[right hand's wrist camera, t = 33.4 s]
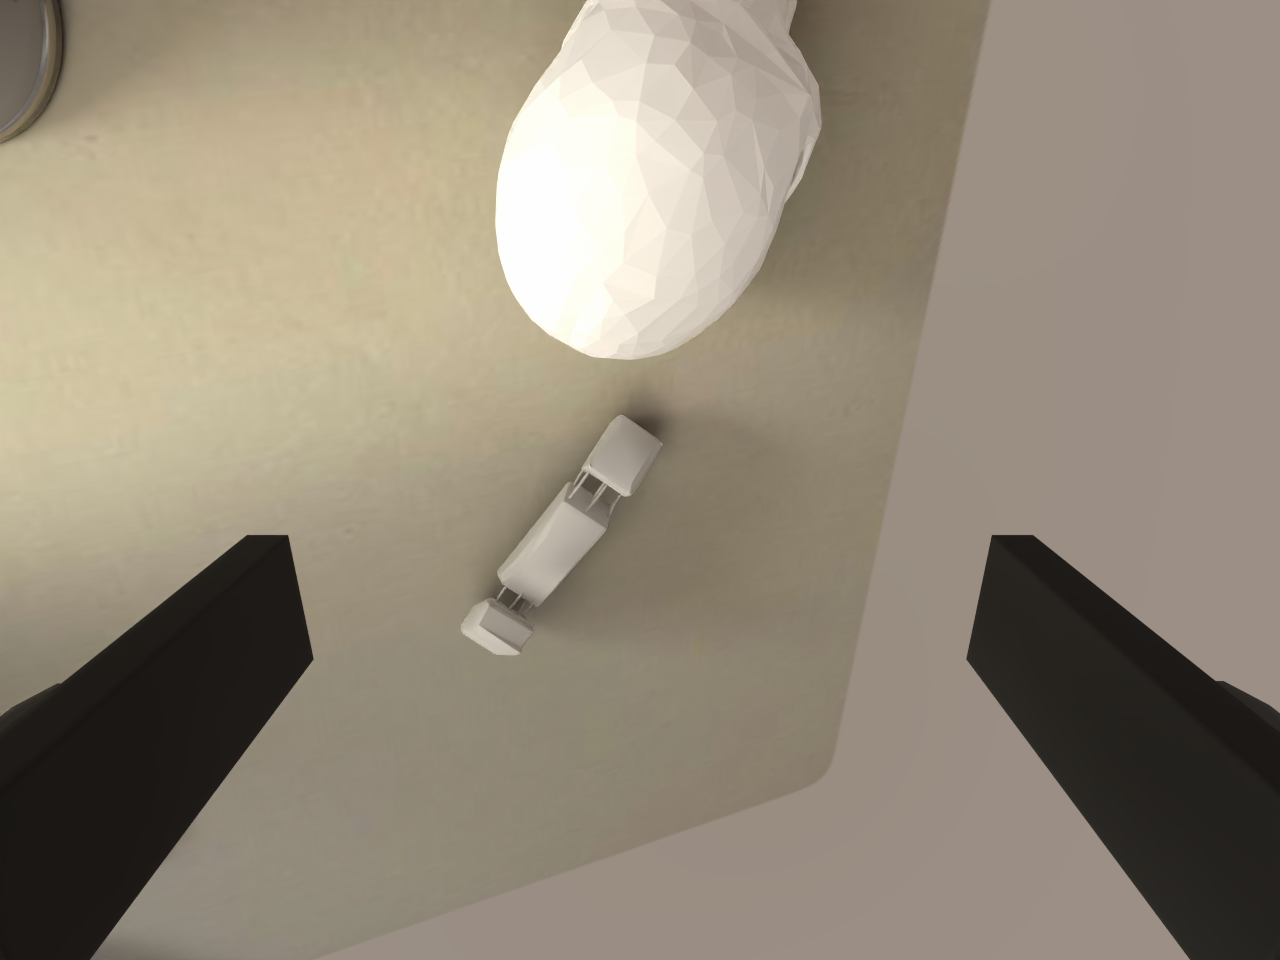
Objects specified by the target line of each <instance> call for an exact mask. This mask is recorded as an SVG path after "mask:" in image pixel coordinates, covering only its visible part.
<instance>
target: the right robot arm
mask: <svg viewBox="0 0 1280 960" xmlns="http://www.w3.org/2000/svg"><path fill="white" fill-rule="evenodd" d="M61 56H62V26H61V17H60V10H59V5H58V0H0V143H1V142H4V141H6V140H9V139H11V138H12V137H14V136H16V135H18V134H19V133H21V132H22V131H23V130H25V129H26V128H27V127H28V126H30V125H31V124H32V122H33V121H34V120H35V119H36V118H37V117H38V116H39V115H40V113H41V112H42V111H43V109H44V108H45V106H46V104H47V103H48V101H49V99H50V97H51V95H52V92H53V90H54V87H55V85H56V81H57V78H58V74H59V69H60V63H61ZM312 661H313V654H312V649H311V644H310V639H309V634H308V630H307V625H306V620H305V615H304V610H303V605H302V600H301V596H300V591H299V586H298V581H297V576H296V571H295V566H294V562H293V557H292V552H291V547H290V542H289V537H288V535H247V536H245V537H244V538H243V539H242V540H240V541H239V542H238V543H237V544H235V545H234V546H233V547H232V548H230V549H229V550H228V551H227V552H225V553H224V554H223V555H222V556H220V557H219V558H218V559H217V560H215V561H214V562H213V563H212V564H210V565H209V566H208V567H207V568H205V569H204V570H203V571H202V572H200V573H199V574H198V575H197V576H195V577H194V578H193V579H192V580H190V581H189V582H188V583H187V584H185V585H184V586H183V587H182V588H180V589H179V590H178V591H177V592H175V593H174V594H173V595H172V596H170V597H169V598H168V599H167V600H165V601H164V602H163V603H162V604H160V605H159V606H158V607H157V608H155V609H154V610H153V611H152V612H150V613H149V614H148V615H147V616H145V617H144V618H143V619H142V620H140V621H139V622H138V623H137V624H135V625H134V626H133V627H132V628H130V629H129V630H128V631H127V632H125V633H124V634H123V635H122V636H120V637H119V638H118V639H117V640H115V641H114V642H113V643H112V644H110V645H109V646H108V647H107V648H105V649H104V650H103V651H102V652H100V653H99V654H98V655H97V656H95V657H94V658H93V659H92V660H90V661H89V662H88V663H87V664H85V665H84V666H83V667H82V668H80V669H79V670H78V671H77V672H75V673H74V674H73V675H72V676H70V677H69V678H68V679H67V680H65V681H64V682H63V683H62V684H55V685H53V686H52V687H50V688H48V689H46V690H44V691H42V692H40V693H38V694H37V695H35V696H33V697H31V698H29V699H27V700H25V701H23V702H21V703H20V704H18V705H16V706H14V707H12V708H11V709H9V710H8V711H7V712H5V713H4V714H3V715H2V716H0V960H90V959H91V958H92V956H93V955H94V953H95V952H96V951H97V949H98V948H99V947H100V945H101V944H102V943H103V941H104V940H105V939H106V937H107V936H108V935H109V933H110V932H111V931H112V929H113V928H114V927H115V925H116V924H117V923H118V921H119V920H120V919H121V917H122V916H123V915H124V913H125V912H126V910H127V909H128V908H129V906H130V905H131V904H132V902H133V901H134V900H135V898H136V897H137V896H138V894H139V893H140V892H141V890H142V889H143V888H144V886H145V885H146V884H147V882H148V881H149V880H150V878H151V877H152V876H153V874H154V873H155V872H156V870H157V869H158V868H159V866H160V865H161V863H162V862H163V861H164V859H165V858H166V857H167V855H168V854H169V853H170V851H171V850H172V849H173V847H174V846H175V845H176V843H177V842H178V841H179V839H180V838H181V837H182V835H183V834H184V833H185V831H186V830H187V829H188V827H189V826H190V825H191V823H192V822H193V820H194V819H195V818H196V816H197V815H198V814H199V812H200V811H201V810H202V808H203V807H204V806H205V804H206V803H207V802H208V800H209V799H210V798H211V796H212V795H213V794H214V792H215V791H216V790H217V788H218V787H219V786H220V784H221V783H222V782H223V780H224V779H225V778H226V776H227V775H228V773H229V772H230V771H231V769H232V768H233V767H234V765H235V764H236V763H237V761H238V760H239V759H240V757H241V756H242V755H243V753H244V752H245V751H246V749H247V748H248V747H249V745H250V744H251V743H252V741H253V740H254V739H255V737H256V736H257V735H258V733H259V732H260V731H261V729H262V728H263V726H264V725H265V724H266V722H267V721H268V720H269V718H270V717H271V716H272V714H273V713H274V712H275V710H276V709H277V708H278V706H279V705H280V704H281V702H282V701H283V700H284V698H285V697H286V696H287V694H288V693H289V692H290V690H291V689H292V688H293V686H294V685H295V683H296V682H297V681H298V679H299V678H300V677H301V675H302V674H303V673H304V671H305V670H306V669H307V667H308V666H309V665H310V663H311V662H312ZM967 661H968V662H969V663H970V665H971V666H972V667H973V669H974V670H975V671H976V673H977V674H978V675H979V677H980V678H981V679H982V681H983V682H984V683H985V685H986V686H987V688H988V689H989V690H990V692H991V693H992V694H993V695H994V697H995V698H996V700H997V701H998V702H999V704H1000V705H1001V706H1002V708H1003V709H1004V710H1005V712H1006V713H1007V714H1008V716H1009V717H1010V718H1011V720H1012V721H1013V722H1014V724H1015V725H1016V726H1017V728H1018V729H1019V731H1020V732H1021V733H1022V735H1023V736H1024V737H1025V739H1026V740H1027V741H1028V743H1029V744H1030V745H1031V747H1032V748H1033V749H1034V751H1035V752H1036V753H1037V755H1038V756H1039V757H1040V759H1041V760H1042V761H1043V763H1044V764H1045V765H1046V767H1047V768H1048V769H1049V771H1050V772H1051V773H1052V775H1053V776H1054V777H1055V779H1056V780H1057V782H1058V783H1059V784H1060V786H1061V787H1062V788H1063V790H1064V791H1065V792H1066V794H1067V795H1068V796H1069V798H1070V799H1071V800H1072V802H1073V803H1074V804H1075V806H1076V807H1077V808H1078V810H1079V811H1080V812H1081V814H1082V815H1083V816H1084V818H1085V819H1086V820H1087V822H1088V823H1089V824H1090V826H1091V827H1092V829H1093V830H1094V831H1095V832H1096V834H1097V835H1098V837H1099V838H1100V839H1101V841H1102V842H1103V843H1104V845H1105V846H1106V847H1107V849H1108V850H1109V851H1110V853H1111V854H1112V855H1113V857H1114V858H1115V859H1116V861H1117V862H1118V863H1119V865H1120V866H1121V867H1122V869H1123V870H1124V871H1125V873H1126V874H1127V876H1128V877H1129V878H1130V880H1131V881H1132V882H1133V884H1134V885H1135V886H1136V888H1137V889H1138V890H1139V892H1140V893H1141V894H1142V896H1143V897H1144V898H1145V900H1146V901H1147V902H1148V904H1149V905H1150V906H1151V908H1152V909H1153V910H1154V912H1155V913H1156V914H1157V916H1158V917H1159V919H1160V920H1161V921H1162V923H1163V924H1164V925H1165V927H1166V928H1167V929H1168V931H1169V932H1170V933H1171V935H1172V936H1173V937H1174V939H1175V940H1176V941H1177V943H1178V944H1179V945H1180V947H1181V948H1182V949H1183V951H1184V952H1185V953H1186V955H1187V956H1188V958H1189V959H1190V960H1280V713H1279V712H1277V711H1276V710H1275V709H1274V708H1272V707H1271V706H1270V705H1268V704H1266V703H1264V702H1262V701H1260V700H1258V699H1257V698H1255V697H1253V696H1251V695H1249V694H1247V693H1245V692H1243V691H1241V690H1240V689H1238V688H1236V687H1234V686H1232V685H1230V684H1228V683H1226V682H1224V681H1215V680H1213V679H1212V678H1211V677H1210V676H1208V675H1207V674H1206V673H1205V672H1203V671H1202V670H1201V669H1200V668H1198V667H1197V666H1196V665H1195V664H1193V663H1192V662H1191V661H1190V660H1188V659H1187V658H1186V657H1185V656H1183V655H1182V654H1181V653H1180V652H1178V651H1177V650H1176V649H1175V648H1173V647H1172V646H1171V645H1170V644H1168V643H1167V642H1166V641H1165V640H1163V639H1162V638H1161V637H1160V636H1158V635H1157V634H1156V633H1155V632H1153V631H1152V630H1151V629H1150V628H1148V627H1147V626H1146V625H1145V624H1143V623H1142V622H1141V621H1140V620H1138V619H1137V618H1136V617H1135V616H1133V615H1132V614H1131V613H1130V612H1128V611H1127V610H1126V609H1125V608H1123V607H1122V606H1121V605H1120V604H1118V603H1117V602H1116V601H1115V600H1113V599H1112V598H1111V597H1110V596H1108V595H1107V594H1106V593H1105V592H1103V591H1102V590H1101V589H1100V588H1098V587H1097V586H1096V585H1095V584H1093V583H1092V582H1091V581H1090V580H1088V579H1087V578H1086V577H1085V576H1083V575H1082V574H1081V573H1080V572H1078V571H1077V570H1076V569H1075V568H1073V567H1072V566H1071V565H1070V564H1068V563H1067V562H1066V561H1065V560H1063V559H1062V558H1061V557H1060V556H1058V555H1057V554H1056V553H1055V552H1053V551H1052V550H1051V549H1050V548H1048V547H1047V546H1046V545H1045V544H1043V543H1042V542H1041V541H1040V540H1038V539H1037V538H1036V537H1035V536H1033V535H992V537H991V542H990V547H989V552H988V557H987V562H986V566H985V571H984V576H983V581H982V586H981V591H980V596H979V600H978V605H977V610H976V615H975V620H974V625H973V630H972V634H971V639H970V644H969V649H968V654H967Z"/></svg>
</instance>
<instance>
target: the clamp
mask: <svg viewBox="0 0 1280 960" xmlns="http://www.w3.org/2000/svg"><path fill="white" fill-rule="evenodd" d="M662 445H663V444H662V443H661V441H660V440H658V439H657V438H656V437H654V436H653V435H651V434H650V433H649V432H647V431H646V430H644V429H643V428H641V427H640V426H639V425H637V424H636V423H634V422H633V421H632V420H630V419H629V418H627V417H626V416H625V415H619V416H618V417H616V418H615V419H614V420H612V421H611V422H610V424H609V425H608V427H607V429H606V430H605V432H604V433H603V435H602V436H601V438H600V439H599V441H598V443H597V444H596V446H595V447H594V449H593V450H592V452H591V454H590V455H589V457H588V458H587V460H586V461H585V463H584V465H583V466H582V468H581V470H582V471H581V472H580V473H579V475H578V477H577V478H576V480H575V482H573V481H570V482H568V483H566V485H565V486H564V487H563V489H562V490H561V491H560V492H559V494H558V495H557V496H556V498H555V499H554V500H553V501H552V503H551V504H550V505H549V506H548V508H547V509H546V510H545V512H544V513H543V514H542V515H541V517H540V518H539V519H538V520H537V522H536V523H535V524H534V525H533V527H532V528H531V529H530V530H529V532H528V533H527V534H526V535H525V537H524V538H523V539H522V541H521V542H520V543H519V544H518V546H517V547H516V548H515V549H514V551H513V552H512V553H511V554H510V556H509V557H508V558H507V559H506V561H505V562H504V563H503V564H502V566H501V567H500V568H499V570H498V571H497V572H498V577H499V579H500V581H501V582H502V584H503V585H505V587H504V588H503V589H502V591H501V592H500V594H499V596H498V597H497V599H494V598H492V597H490V598H487V599H485V600H484V601H482V602H480V603H478V604H475V605H474V606H473V607H472V609H471V610H470V612H469V614H468V615H467V617H466V618H465V620H464V622H463V623H462V625H461V632H462V633H463V634H464V635H466V636H468V637H469V638H471V639H472V640H474V641H475V642H477V643H478V644H480V645H481V646H483V647H484V648H486V649H488V650H489V651H491V652H492V653H494V654H495V655H517V654H521V650H522V647H523V646H524V644H525V643H526V642H527V640H528V639H529V638H530V636H531V635H532V634H533V632H534V630H533V629H532V628H533V626H534V625H533V624H532V623H530V622H529V621H527V618H525V617H524V616H523V615H524V614H525V613H526V612H527V611H528V610H529V609H530V608H531V607H532V606H533V605H534V606H535V607H538V606H539V605H541V604H542V603H543V602H544V601H545V599H546V598H547V597H548V596H549V595H550V594H551V593H552V592H553V591H554V590H555V589H556V588H557V586H558V585H559V584H560V583H561V582H562V581H563V579H564V578H565V577H566V576H567V575H568V574H569V572H570V571H571V570H572V569H573V568H574V567H575V565H576V564H577V563H578V562H579V561H580V560H581V559H582V557H583V556H584V555H585V554H586V553H587V552H588V551H589V550H590V549H591V547H592V546H593V545H594V544H595V543H596V542H597V541H598V540H599V538H600V537H601V536H602V535H603V534H604V533H605V532H606V530H607V528H608V524H609V520H610V516H611V513H612V511H613V509H614V506H615V504H616V503H617V501H618V500H619V498H620V497H621V496H623V497H626V496H631V495H632V494H633V493H634V492H635V490H636V489H637V488H638V486H639V485H640V484H641V482H642V481H643V479H644V477H645V476H646V474H647V473H648V471H649V469H650V468H651V466H652V464H653V463H654V461H655V459H656V457H657V455H658V453H659V451H660V449H661V447H662ZM584 472H586V474H585V476H584V477H583V478H582V480H581V481H580V483H579V484H577V482H578V480H579V479H580V477H581V475H582V474H583V473H584ZM589 474H590V475H592V476H594V477H595V478H597V479H599V480H600V481H602V482H603V483H602V485H601V486H600V488H599V489H598V490H597V492H596V493H595V494H592V493H591V492H589V491H588V490H586V489H585V488H583V487H582V486H581V485H582V483H583V482H584V481H585V479H586V478H587V476H588V475H589ZM604 485H605V486H604ZM607 486H610V487H611V488H613V489H614V490H616V491H617V492H619V493H620V494H619V495H618V496H617V498H616V499H615V500H614V501H613V503H612V504H611V505H609V504H607V503H606V502H604V501H603V500H601V499H600V498H599V497H600V496H601V494H602V493H603V492H604V490H605V489H606V488H607ZM507 587H508V588H509V589H511V590H512V591H514V592H515V593H517V594H518V595H519V596H518V597H517V598H516V600H515V601H514V602H513V603H512V604H511V605H510V607H507V606H506V605H504V604H502V603H501V602H499V599H500V597H501V596H502V594H503V593H504V591H505V590H506V589H507ZM521 597H522V598H524V599H525V602H524V603H523V605H522V606H521V608H520V610H519V613H517V612H516V611H514V610H512V609H511V608H512V607H513V606H514V605H515V604H516V602H517V601H518V600H519V599H520V598H521ZM527 602H529V603H531V604H530V605H529V606H528V607H527V608H526V609H525V610H524V611H523V612H522V610H523V608H524V606H525V605H526V603H527ZM521 612H522V613H521Z"/></svg>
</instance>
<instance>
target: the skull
mask: <svg viewBox="0 0 1280 960" xmlns="http://www.w3.org/2000/svg"><path fill="white" fill-rule="evenodd" d="M796 4H797V0H587V1H586V2H585V4H584V6H583V7H582V9H581V11H580V12H579V14H578V16H577V17H576V19H575V21H574V23H573V25H572V26H571V28H570V30H569V32H568V34H567V35H566V37H565V39H564V41H563V45H562V49H561V51H560V52H559V54H558V55H557V56H556V58H555V59H554V60H553V62H552V63H551V64H550V66H549V67H548V68H547V70H546V71H545V72H544V74H543V75H542V77H541V78H540V79H539V81H538V82H537V83H536V85H535V86H534V88H533V90H532V91H531V93H530V95H529V96H528V98H527V100H526V101H525V103H524V105H523V107H522V108H521V110H520V112H519V114H518V115H517V117H516V119H515V121H514V122H513V125H512V127H511V130H510V132H509V135H508V138H507V142H506V146H505V150H504V154H503V158H502V162H501V165H500V169H499V175H498V183H497V197H496V225H495V227H496V235H497V243H498V251H499V256H500V259H501V263H502V266H503V269H504V273H505V276H506V280H507V282H508V284H509V286H510V288H511V290H512V292H513V294H514V296H515V298H516V299H517V300H518V302H519V303H520V305H521V306H522V307H523V309H524V310H525V311H526V313H527V314H528V316H529V317H530V318H531V319H532V320H533V321H534V322H535V323H536V324H537V325H539V326H540V327H541V328H542V329H543V330H545V331H546V332H547V333H548V334H549V335H551V336H552V337H554V338H556V339H558V340H560V341H561V342H563V343H565V344H567V345H569V346H571V347H572V348H574V349H576V350H578V351H580V352H582V353H584V354H587V355H589V356H592V357H600V358H613V359H627V360H635V359H641V358H646V357H652V356H658V355H661V354H663V353H665V352H668V351H670V350H673V349H675V348H677V347H679V346H681V345H682V344H684V343H685V342H687V341H689V340H690V339H692V338H694V337H695V336H697V335H698V334H700V333H701V332H702V331H703V330H704V329H706V328H707V327H708V326H709V325H710V324H712V323H713V322H715V321H716V320H718V319H719V318H720V317H721V316H722V315H723V314H724V313H725V312H726V311H727V310H728V309H729V308H730V307H731V306H732V305H733V304H734V303H735V301H736V300H737V299H738V297H739V296H740V295H741V294H742V292H743V291H744V290H745V289H746V287H747V286H748V285H749V283H750V282H751V281H752V279H753V278H754V277H755V275H756V274H757V272H758V271H759V269H760V268H761V267H762V264H763V262H764V259H765V257H766V254H767V252H768V249H769V247H770V245H771V242H772V240H773V237H774V235H775V233H776V230H777V227H778V224H779V221H780V217H781V214H782V211H783V208H784V204H785V202H786V201H787V200H788V198H789V197H790V196H791V194H792V193H793V192H794V190H795V189H796V187H797V185H798V184H799V182H800V180H801V179H802V176H803V174H804V171H805V169H806V166H807V163H808V161H809V158H810V156H811V153H812V151H813V148H814V145H815V143H816V140H817V138H818V137H819V133H820V130H821V126H822V119H821V109H820V95H819V85H818V83H817V82H816V80H815V78H814V76H813V75H812V73H811V71H810V69H809V67H808V66H807V64H806V62H805V60H804V58H803V56H802V53H801V51H800V50H799V48H798V47H797V46H796V45H795V43H794V42H793V40H792V38H791V37H790V35H789V30H790V25H791V22H792V19H793V16H794V13H795V9H796ZM797 162H798V163H797ZM796 166H797V167H796ZM795 169H796V172H795ZM794 172H795V176H794V180H793V181H792V179H793V175H794Z"/></svg>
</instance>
